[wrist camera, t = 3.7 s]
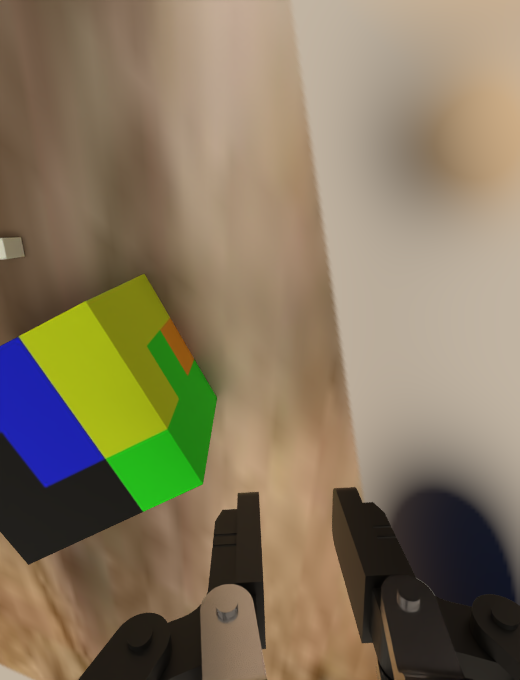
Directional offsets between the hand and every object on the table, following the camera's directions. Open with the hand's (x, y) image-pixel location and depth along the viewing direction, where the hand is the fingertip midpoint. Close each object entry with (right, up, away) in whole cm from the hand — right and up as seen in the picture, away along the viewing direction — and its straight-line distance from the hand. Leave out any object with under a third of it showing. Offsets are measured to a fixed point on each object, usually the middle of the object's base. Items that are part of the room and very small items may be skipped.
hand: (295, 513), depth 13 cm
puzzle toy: (-11, +4, +15) cm, 19 cm away
